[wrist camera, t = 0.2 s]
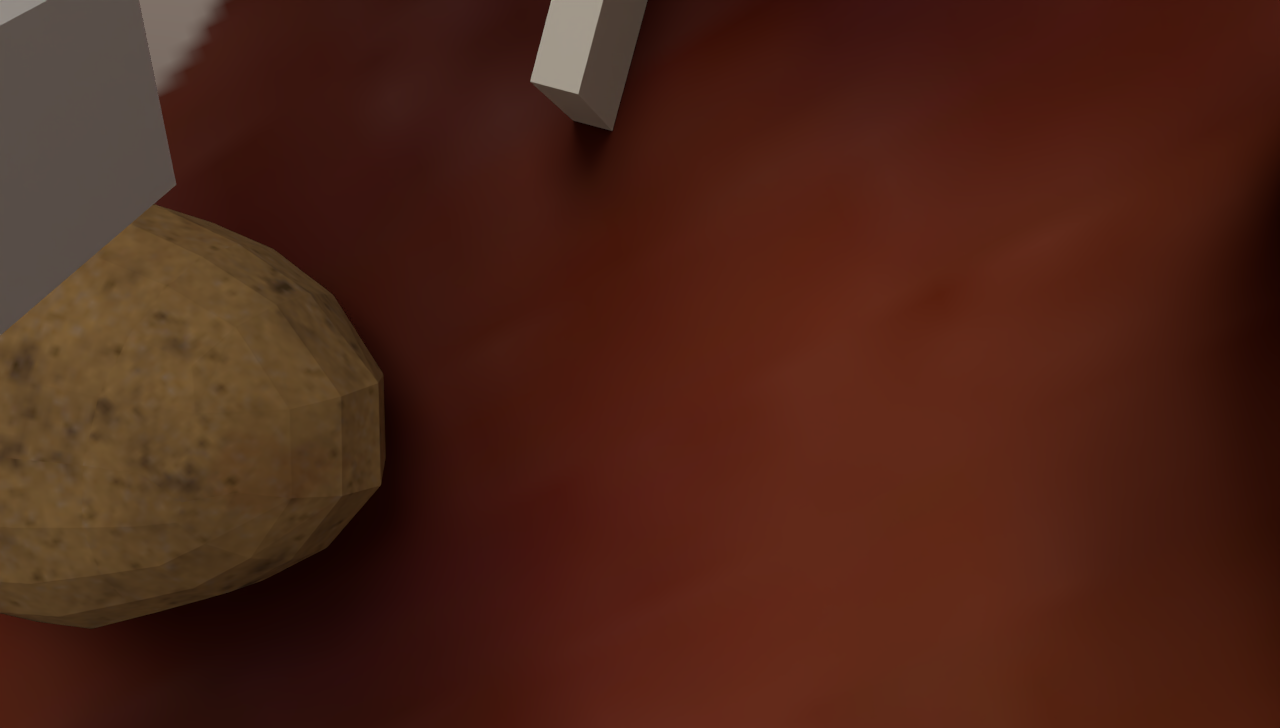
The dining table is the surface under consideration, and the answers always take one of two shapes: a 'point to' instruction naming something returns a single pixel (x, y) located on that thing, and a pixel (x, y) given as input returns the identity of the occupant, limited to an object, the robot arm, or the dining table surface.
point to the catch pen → (588, 56)
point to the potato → (177, 426)
